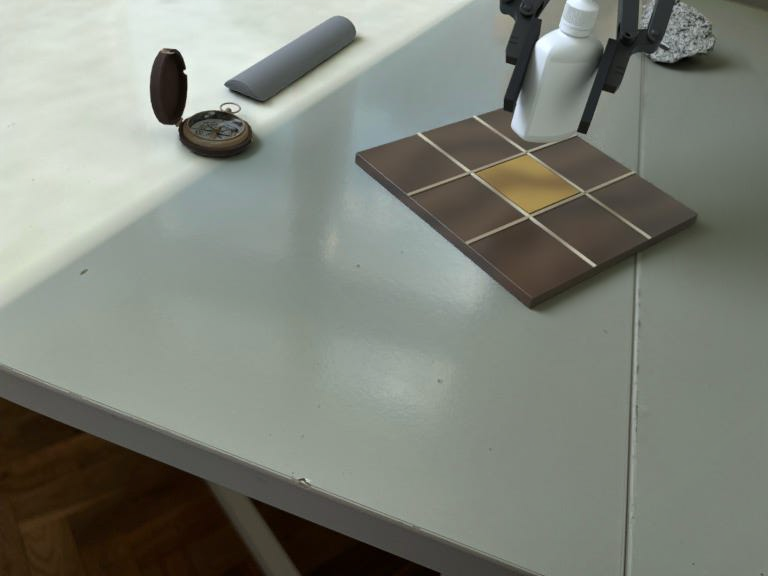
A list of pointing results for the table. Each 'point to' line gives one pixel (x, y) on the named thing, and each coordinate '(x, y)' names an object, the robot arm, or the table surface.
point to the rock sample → (681, 33)
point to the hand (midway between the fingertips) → (545, 116)
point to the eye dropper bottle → (559, 77)
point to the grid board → (525, 202)
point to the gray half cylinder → (294, 59)
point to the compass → (202, 129)
